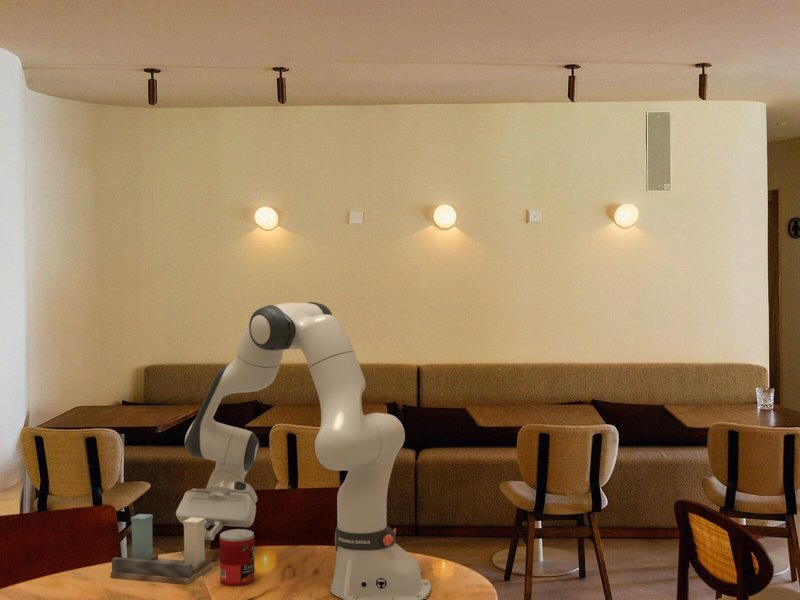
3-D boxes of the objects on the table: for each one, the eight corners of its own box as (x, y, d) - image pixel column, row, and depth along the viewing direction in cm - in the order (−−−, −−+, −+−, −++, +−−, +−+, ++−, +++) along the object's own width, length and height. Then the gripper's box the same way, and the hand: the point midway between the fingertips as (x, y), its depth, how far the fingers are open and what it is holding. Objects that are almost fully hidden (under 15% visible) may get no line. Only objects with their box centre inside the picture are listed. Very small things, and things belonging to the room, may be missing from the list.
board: (211, 567, 207) (211, 550, 207) (187, 584, 195) (187, 566, 195) (138, 561, 212) (138, 544, 212) (110, 577, 200) (110, 560, 200)
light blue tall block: (153, 558, 209) (153, 514, 209) (145, 563, 206) (144, 518, 206) (139, 557, 210) (139, 513, 210) (131, 562, 207) (130, 517, 206)
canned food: (247, 587, 193) (247, 539, 193) (214, 585, 195) (214, 537, 194) (259, 576, 201) (259, 529, 200) (227, 574, 202) (227, 528, 202)
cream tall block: (205, 562, 206) (205, 518, 206) (198, 567, 202) (197, 522, 202) (191, 561, 207) (190, 517, 207) (183, 566, 203) (183, 521, 203)
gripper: (182, 481, 220) (163, 529, 211) (256, 485, 215) (240, 535, 206) (191, 494, 225) (173, 542, 215) (263, 498, 220) (248, 547, 210)
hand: (206, 538), depth 210 cm, fingers closed
